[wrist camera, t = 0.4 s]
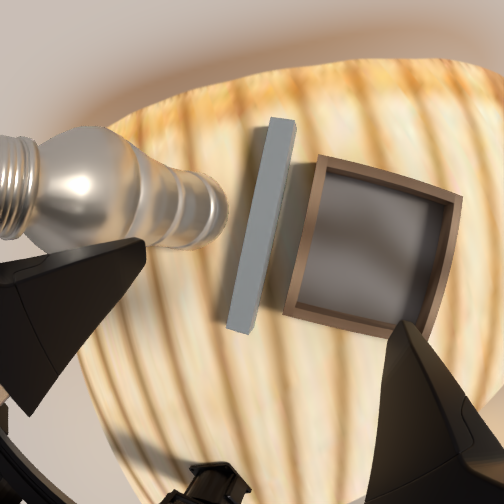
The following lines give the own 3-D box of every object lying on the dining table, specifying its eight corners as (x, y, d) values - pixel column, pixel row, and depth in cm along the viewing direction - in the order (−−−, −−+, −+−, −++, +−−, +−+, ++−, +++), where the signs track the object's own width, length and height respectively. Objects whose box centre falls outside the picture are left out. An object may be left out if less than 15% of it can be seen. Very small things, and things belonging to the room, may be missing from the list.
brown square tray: (416, 336, 21) (425, 346, 19) (286, 306, 24) (282, 314, 21) (450, 199, 20) (462, 196, 17) (318, 162, 22) (318, 154, 20)
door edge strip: (253, 327, 24) (248, 335, 23) (232, 321, 25) (225, 328, 23) (296, 128, 22) (294, 120, 20) (274, 125, 23) (270, 117, 21)
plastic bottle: (158, 213, 26) (-44, 199, 7) (206, 162, 25) (11, 66, 5) (197, 263, 25) (-17, 319, 6) (251, 213, 24) (37, 161, 4)
